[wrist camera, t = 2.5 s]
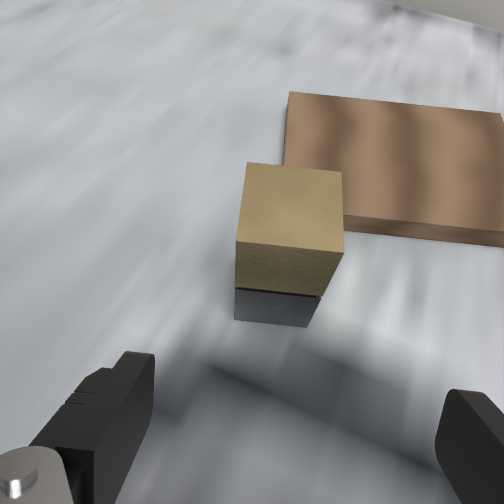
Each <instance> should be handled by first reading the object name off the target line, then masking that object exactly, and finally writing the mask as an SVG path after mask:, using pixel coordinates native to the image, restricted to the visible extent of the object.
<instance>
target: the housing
mask: <svg viewBox="0 0 504 504" xmlns="http://www.w3.org/2000/svg"><path fill="white" fill-rule="evenodd" d="M343 254H344V229H343V201H342V172H336V171H327V170H318V169H308V168H299V167H289V166H280V165H271V164H261V163H252V162H247V167H246V174H245V181H244V188H243V195H242V202H241V209H240V216H239V223H238V230H237V237H236V263H235V311H234V320H241V321H250V322H259V323H268V324H277V325H286V326H295V327H304V328H307V326H308V324H309V322H310V320H311V318H312V316H313V314H314V312H315V310H316V308H317V306H318V304H319V302H320V300H321V296H323V294H324V292H325V290H326V288H327V286H328V284H329V282H330V280H331V278H332V276H333V274H334V272H335V270H336V268H337V266H338V264H339V262H340V260H341V258H342V256H343Z"/></svg>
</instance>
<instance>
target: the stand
mask: <svg viewBox="0 0 504 504" xmlns="http://www.w3.org/2000/svg"><path fill="white" fill-rule="evenodd" d="M283 166H289V167H299V168H308V169H318V170H327V171H336V172H342V201H343V229H344V230H347V231H356V232H365V233H375V234H384V235H393V236H403V237H412V238H421V239H430V240H440V241H449V242H458V243H467V244H477V245H486V246H495V247H504V122H503V120H502V117H501V114H500V113H491V112H482V111H472V110H463V109H453V108H444V107H434V106H424V105H415V104H405V103H396V102H386V101H377V100H367V99H358V98H348V97H338V96H329V95H319V94H310V93H300V92H291V91H289V98H288V105H287V113H286V127H285V140H284V153H283Z"/></svg>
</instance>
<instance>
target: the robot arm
mask: <svg viewBox="0 0 504 504" xmlns="http://www.w3.org/2000/svg"><path fill="white" fill-rule="evenodd" d="M154 371H155V357H154V354H148V353H139V352H130V351H126V352H124V354H123V355H122V356H121V358H120V359H119V360H118V362H117V363H116V364H115V366H114V367H113V368H112V369H111V368H101V369H99V370H97V371H96V372H94V373H92V374H91V375H89V376H87V377H85V379H84V380H83V381H82V382H81V383H80V385H79V386H78V387H77V388H76V389H75V391H74V393H72V394H71V395H70V397H69V398H68V399H67V400H66V401H65V404H64V405H62V406H61V407H60V409H59V410H58V411H57V412H56V413H55V415H54V416H53V417H52V418H51V419H50V421H49V422H48V423H47V424H46V425H45V427H44V428H43V429H42V430H41V431H40V433H39V434H38V435H37V436H36V437H35V439H34V440H33V441H32V442H31V443H30V445H29V446H28V447H22V448H18V449H15V450H12V451H9V452H7V453H5V454H2V455H0V504H114V503H115V501H116V499H117V497H118V494H119V492H120V490H121V487H122V485H123V483H124V481H125V478H126V476H127V474H128V472H129V469H130V467H131V465H132V463H133V460H134V458H135V456H136V454H137V451H138V449H139V447H140V445H141V442H142V440H143V438H144V436H145V433H146V431H147V429H148V426H149V423H150V419H151V414H152V408H153V392H154ZM435 451H436V456H437V460H438V462H439V464H440V466H441V468H442V470H443V472H444V473H445V475H446V477H447V479H448V480H449V482H450V484H451V486H452V487H453V489H454V491H455V493H456V494H457V496H458V498H459V500H460V501H461V503H462V504H504V414H503V413H502V412H501V410H500V409H499V408H498V407H497V406H496V405H495V404H494V403H493V402H492V401H491V400H490V399H489V398H488V397H487V396H486V395H485V394H484V393H482V392H475V391H466V390H457V389H452V390H450V391H449V392H448V394H447V396H446V399H445V403H444V407H443V411H442V414H441V418H440V422H439V426H438V430H437V434H436V438H435Z"/></svg>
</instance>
